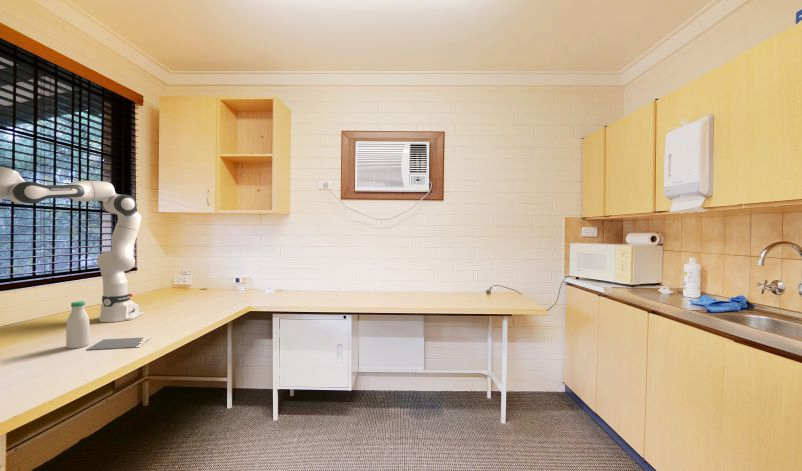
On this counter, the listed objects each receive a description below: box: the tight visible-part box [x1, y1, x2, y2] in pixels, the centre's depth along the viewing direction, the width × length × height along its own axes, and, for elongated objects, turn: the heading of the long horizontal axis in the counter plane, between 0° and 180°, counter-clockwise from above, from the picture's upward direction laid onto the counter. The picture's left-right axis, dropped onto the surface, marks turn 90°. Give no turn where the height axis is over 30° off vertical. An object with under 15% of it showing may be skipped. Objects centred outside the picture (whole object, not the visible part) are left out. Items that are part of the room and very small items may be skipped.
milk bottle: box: [65, 300, 90, 349], centre depth 160 cm, size 8×8×20 cm
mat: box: [85, 336, 145, 351], centre depth 165 cm, size 20×14×1 cm
